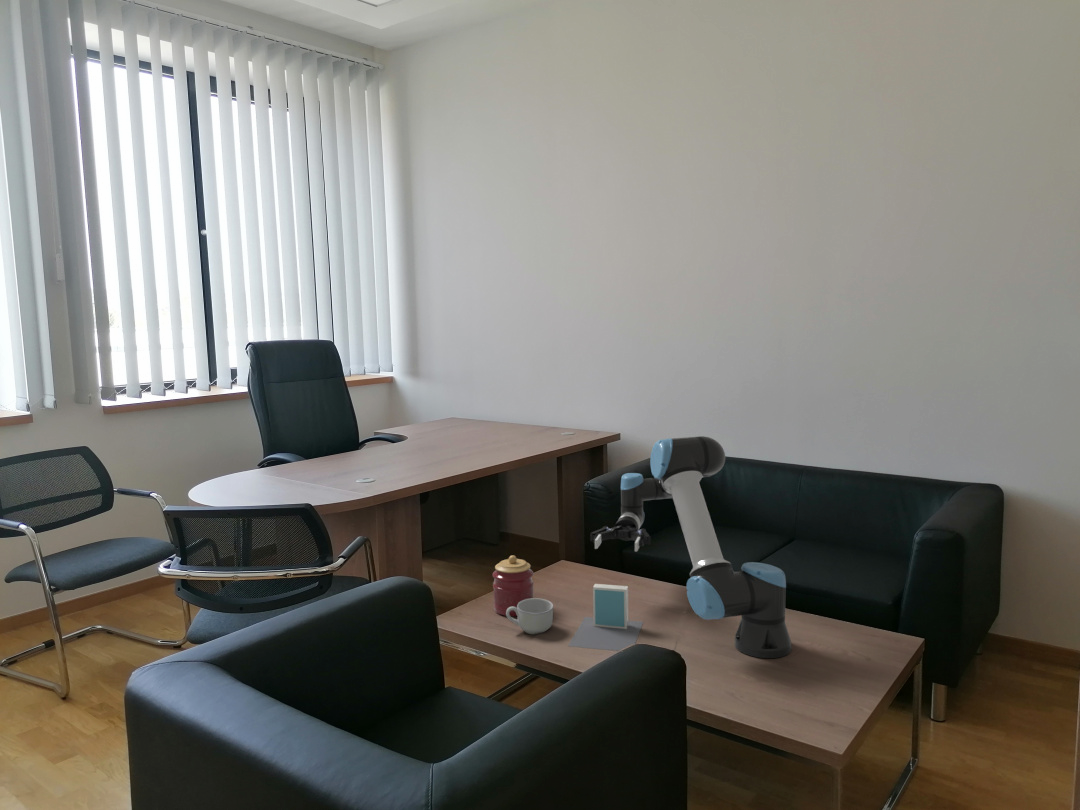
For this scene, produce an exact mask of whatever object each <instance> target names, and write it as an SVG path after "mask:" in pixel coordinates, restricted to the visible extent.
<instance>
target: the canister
mask: <svg viewBox="0 0 1080 810" xmlns="http://www.w3.org/2000/svg"><path fill="white" fill-rule="evenodd" d="M494 569H495V570H494V571H493V572H492V577H493V579H494V580H493V582H492V588H493V603H492V604H493V605H492V606H493V610H494V612H495V613H496V614H498V615H501V616H505V617H507V616H506V611H507V609H508V608H509V607H512V606H513V607H516V608H517V605H518V603H519V602H520V601H522V600H525V599H531V598H534V581H533V576H534V571H533V570H532V569H531V564H530V563H529V562H527V561H526V560H525V559H520V558H517V556H516V555H510V556H509V557H508V558H507V559H504V560H501V561H499V563H497V564H496V565H495V566H494ZM509 615H510V616H511V617H518V616H517V615H516V612H515V611H514V610H511V611H510V612H509Z"/></svg>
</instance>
